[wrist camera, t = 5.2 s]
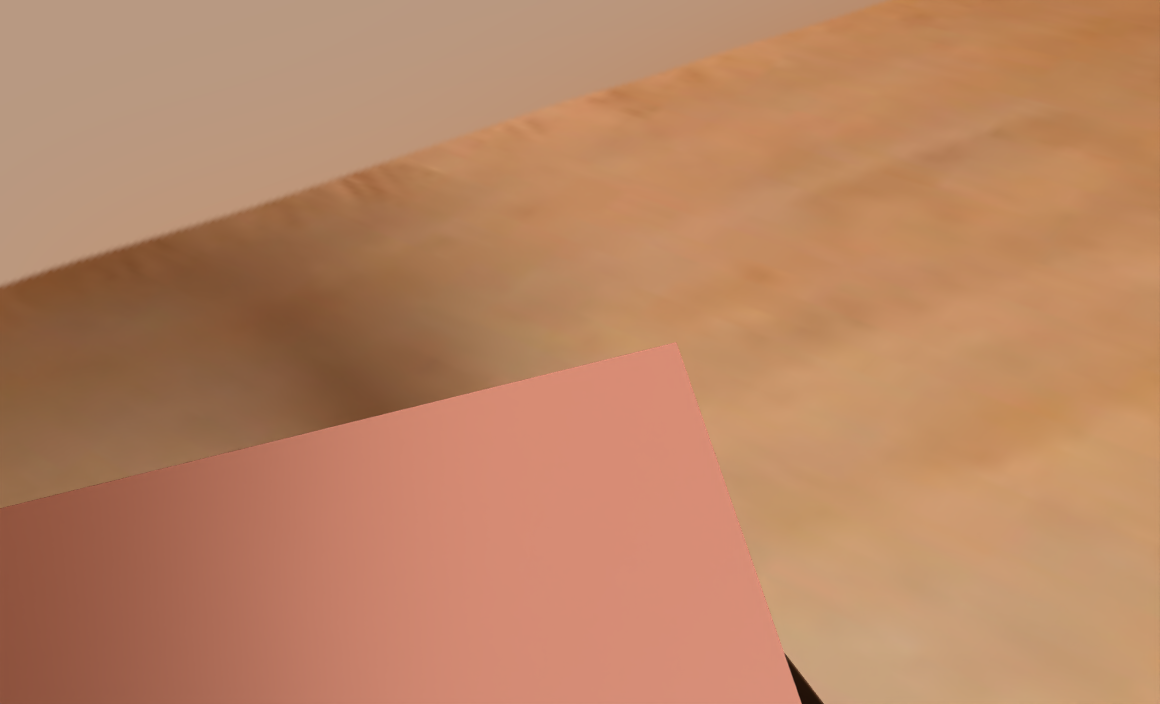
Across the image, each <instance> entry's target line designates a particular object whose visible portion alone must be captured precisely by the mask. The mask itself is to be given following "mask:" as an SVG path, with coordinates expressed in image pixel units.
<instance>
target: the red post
mask: <svg viewBox="0 0 1160 704" xmlns="http://www.w3.org/2000/svg"><path fill="white" fill-rule="evenodd" d="M0 704H802V703H801V700H800V697H799V695H798V692H797V689H796V686H795V683H794V680H793V677H792V674H791V671H790V669H789V666H788V663H787V660H786V657H785V654H784V651H783V648H782V646H781V643H780V640H779V637H778V634H777V631H776V628H775V625H774V622H773V620H772V617H771V614H770V611H769V608H768V605H767V602H766V599H765V596H764V594H763V591H762V588H761V585H760V582H759V579H758V576H757V573H756V571H755V568H754V565H753V562H752V559H751V556H750V553H749V550H748V547H747V545H746V542H745V539H744V536H743V533H742V530H741V527H740V524H739V521H738V519H737V516H736V513H735V510H734V507H733V504H732V501H731V498H730V495H729V493H728V490H727V487H726V484H725V481H724V478H723V475H722V472H721V470H720V467H719V464H718V461H717V458H716V455H715V452H714V449H713V446H712V444H711V441H710V438H709V435H708V432H707V429H706V426H705V423H704V420H703V418H702V415H701V412H700V409H699V406H698V403H697V400H696V397H695V395H694V392H693V389H692V386H691V383H690V380H689V377H688V374H687V371H686V369H685V366H684V363H683V360H682V357H681V354H680V351H679V348H678V345H677V343H676V342H675V343H671V344H667V345H663V346H659V347H655V348H651V349H647V350H643V351H639V352H634V353H630V354H626V355H622V356H618V357H614V358H610V359H606V360H602V361H598V362H594V363H590V364H586V365H582V366H577V367H573V368H569V369H565V370H561V371H557V372H553V373H549V374H545V375H541V376H537V377H533V378H529V379H525V380H521V381H516V382H512V383H508V384H504V385H500V386H496V387H492V388H488V389H484V390H480V391H476V392H472V393H468V394H464V395H459V396H455V397H451V398H447V399H443V400H439V401H435V402H431V403H427V404H423V405H419V406H415V407H411V408H407V409H403V410H398V411H394V412H390V413H386V414H382V415H378V416H374V417H370V418H366V419H362V420H358V421H354V422H350V423H346V424H341V425H337V426H333V427H329V428H325V429H321V430H317V431H313V432H309V433H305V434H301V435H297V436H293V437H289V438H285V439H280V440H276V441H272V442H268V443H264V444H260V445H256V446H252V447H248V448H244V449H240V450H236V451H232V452H228V453H223V454H219V455H215V456H211V457H207V458H203V459H199V460H195V461H191V462H187V463H183V464H179V465H175V466H171V467H167V468H162V469H158V470H154V471H150V472H146V473H142V474H138V475H134V476H130V477H126V478H122V479H118V480H114V481H110V482H106V483H101V484H97V485H93V486H89V487H85V488H81V489H77V490H73V491H69V492H65V493H61V494H57V495H53V496H49V497H44V498H40V499H36V500H32V501H28V502H24V503H20V504H16V505H12V506H8V507H4V508H0Z"/></svg>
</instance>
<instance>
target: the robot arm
mask: <svg viewBox="0 0 1160 704" xmlns="http://www.w3.org/2000/svg"><path fill="white" fill-rule="evenodd" d="M784 654H785V653H784ZM785 657H786V660H787V663H788V666H789V669H790V671H791V674H792V677H793V680H794V683H795V686H796V689H797V692H798V695H799V697H800V700H801V703H802V704H824V703H823V702H822V701H821V699H820V698H819V697H818V696H817V694H816V693H815V692H814V690H813V689H812V688H811V686H810V685H809V684H808V683H807V681H806V680H805V679H804V677H803V676H802V675H801V673H800V672H799V671H798V670H797V668H796V667H795V666H794V664H793V663H792V662H791V661H790V659H789V658H788V657H787V655H786V654H785Z"/></svg>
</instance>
